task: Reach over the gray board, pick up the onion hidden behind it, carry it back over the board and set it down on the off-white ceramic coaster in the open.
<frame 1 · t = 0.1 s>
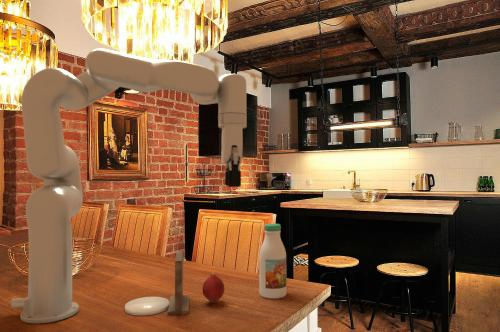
hand: (232, 186, 99), 31 cm above the table, tool pointing down, fingers open, 9 cm apart
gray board: (179, 305, 97), on the table
milk bottle: (272, 295, 106), on the table
coaster: (147, 307, 96), on the table
onion: (213, 303, 99), on the table
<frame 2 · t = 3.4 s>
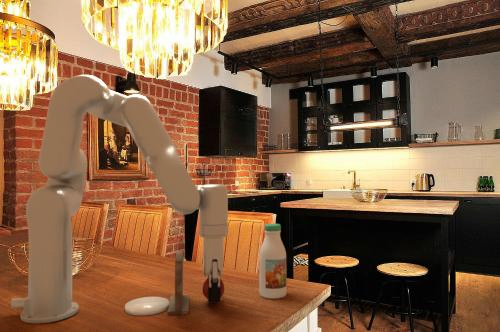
hand: (213, 297, 99), 1 cm above the table, tool pointing down, fingers closed on onion, 5 cm apart
onion: (213, 303, 99), on the table, touching gripper
everything else where it was.
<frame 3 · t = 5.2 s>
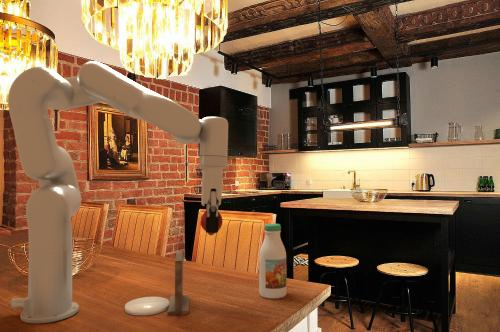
hand: (211, 230, 100), 19 cm above the table, tool pointing down, fingers closed on onion, 5 cm apart
onion: (211, 236, 100), point 18 cm above the table, touching gripper
everything else where it was.
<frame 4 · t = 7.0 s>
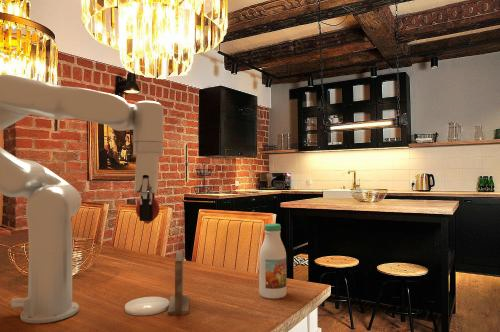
hand: (147, 218, 96), 23 cm above the table, tool pointing down, fingers closed on onion, 5 cm apart
onion: (147, 224, 96), point 21 cm above the table, touching gripper
everything else where it was.
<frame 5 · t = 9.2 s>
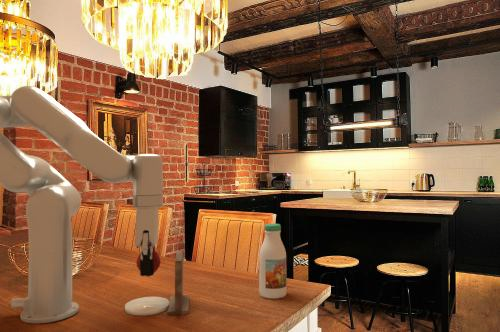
hand: (148, 271, 96), 9 cm above the table, tool pointing down, fingers closed on onion, 5 cm apart
onion: (148, 277, 96), point 8 cm above the table, touching gripper
everything else where it was.
when the fingers open (4 cm above the table, at t = 10.9 s): onion drops 1 cm, resting on coaster.
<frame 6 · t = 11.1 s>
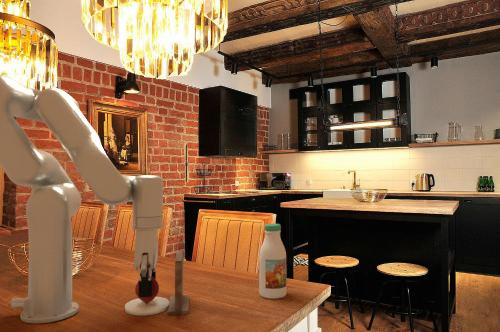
hand: (147, 291, 96), 4 cm above the table, tool pointing down, fingers open, 7 cm apart
onion: (147, 304, 96), point 1 cm above the table, touching coaster
everything else where it was.
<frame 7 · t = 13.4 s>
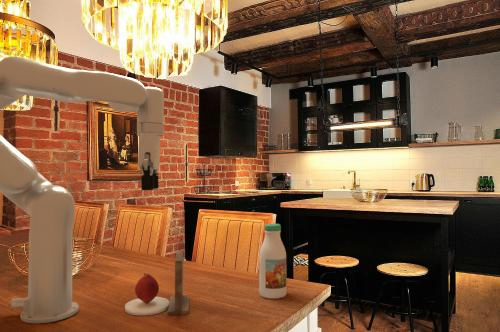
hand: (150, 189, 108), 30 cm above the table, tool pointing down, fingers open, 9 cm apart
nothing on the table moved.
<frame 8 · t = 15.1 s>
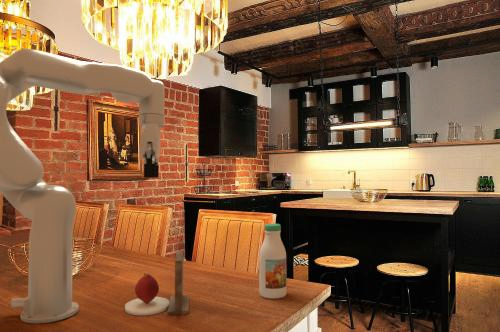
hand: (151, 177, 113), 33 cm above the table, tool pointing down, fingers open, 9 cm apart
nothing on the table moved.
at the end: onion 0.2 cm from the coaster (horizontally); onion point 0.8 cm above the table; the gripper is holding nothing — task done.
